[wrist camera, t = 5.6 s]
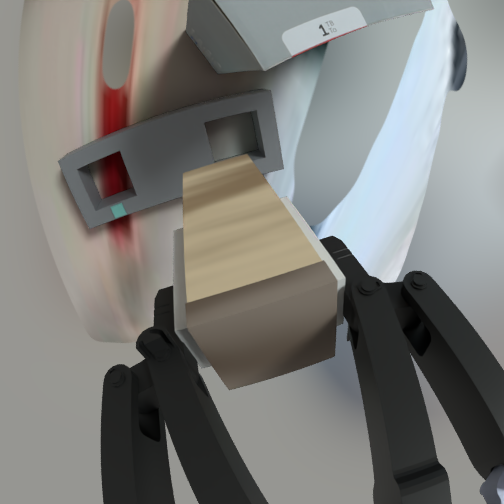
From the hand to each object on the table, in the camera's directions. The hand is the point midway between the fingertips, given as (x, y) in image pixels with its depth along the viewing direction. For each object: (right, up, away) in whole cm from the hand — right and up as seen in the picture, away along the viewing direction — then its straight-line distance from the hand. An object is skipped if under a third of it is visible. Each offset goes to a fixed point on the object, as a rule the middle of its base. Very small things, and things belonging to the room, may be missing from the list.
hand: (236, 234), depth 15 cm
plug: (-1, +3, +5) cm, 6 cm away
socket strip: (-9, +12, +18) cm, 23 cm away
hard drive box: (+1, +26, +10) cm, 28 cm away
